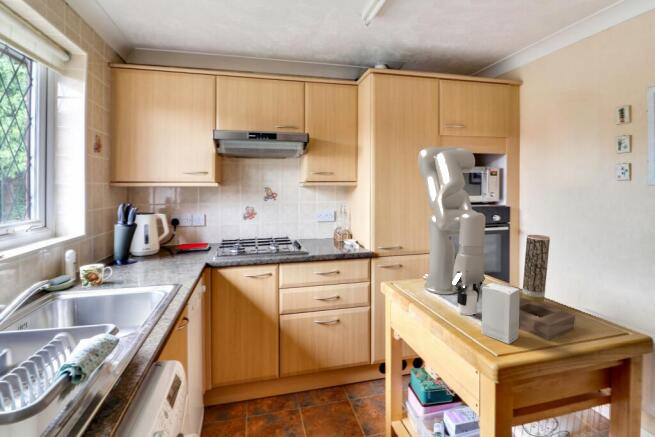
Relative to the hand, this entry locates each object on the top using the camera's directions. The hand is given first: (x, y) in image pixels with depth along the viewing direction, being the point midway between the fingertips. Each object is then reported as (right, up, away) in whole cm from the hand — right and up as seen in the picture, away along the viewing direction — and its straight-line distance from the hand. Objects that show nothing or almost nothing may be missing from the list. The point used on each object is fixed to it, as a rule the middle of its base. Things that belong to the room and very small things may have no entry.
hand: (467, 302), depth 109 cm
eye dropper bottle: (0, -4, +1) cm, 4 cm away
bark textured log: (+27, -3, +8) cm, 28 cm away
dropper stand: (+18, -5, -7) cm, 20 cm away
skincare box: (+3, -6, -15) cm, 16 cm away
